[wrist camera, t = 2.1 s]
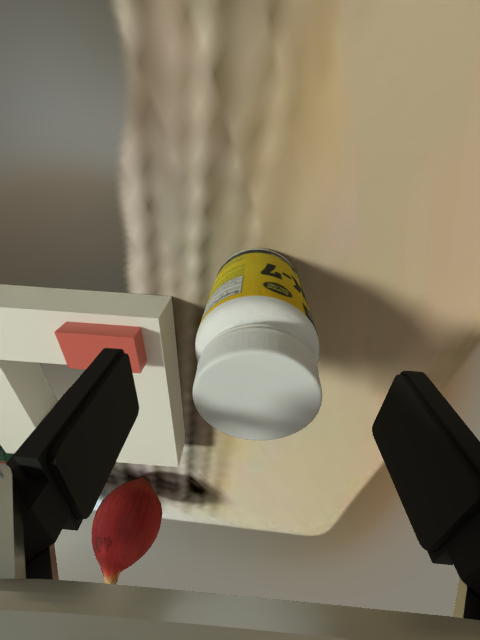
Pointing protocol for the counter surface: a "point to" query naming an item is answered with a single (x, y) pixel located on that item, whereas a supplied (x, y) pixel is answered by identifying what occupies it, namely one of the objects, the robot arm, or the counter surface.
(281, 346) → the supplement bottle
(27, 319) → the socket plate
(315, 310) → the counter surface
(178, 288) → the counter surface
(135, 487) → the onion
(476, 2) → the counter surface
